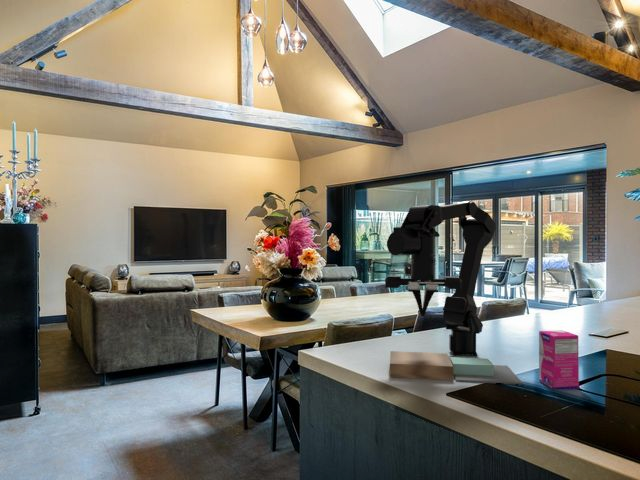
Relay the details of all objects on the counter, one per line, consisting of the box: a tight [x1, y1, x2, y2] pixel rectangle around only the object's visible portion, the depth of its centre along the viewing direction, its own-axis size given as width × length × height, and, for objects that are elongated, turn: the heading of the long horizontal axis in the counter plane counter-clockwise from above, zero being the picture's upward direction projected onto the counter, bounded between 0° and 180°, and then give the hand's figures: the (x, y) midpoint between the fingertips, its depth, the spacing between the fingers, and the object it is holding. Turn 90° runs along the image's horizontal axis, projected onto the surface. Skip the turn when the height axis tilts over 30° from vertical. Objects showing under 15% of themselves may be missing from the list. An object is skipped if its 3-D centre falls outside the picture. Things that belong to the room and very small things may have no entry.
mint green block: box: [449, 356, 495, 376], centre depth 108 cm, size 9×6×2 cm, turn 82°
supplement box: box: [538, 329, 580, 390], centre depth 99 cm, size 6×6×12 cm
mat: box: [453, 364, 524, 386], centre depth 107 cm, size 14×14×1 cm
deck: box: [389, 350, 454, 381], centre depth 109 cm, size 14×12×3 cm
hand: (422, 316), depth 116 cm, fingers closed
